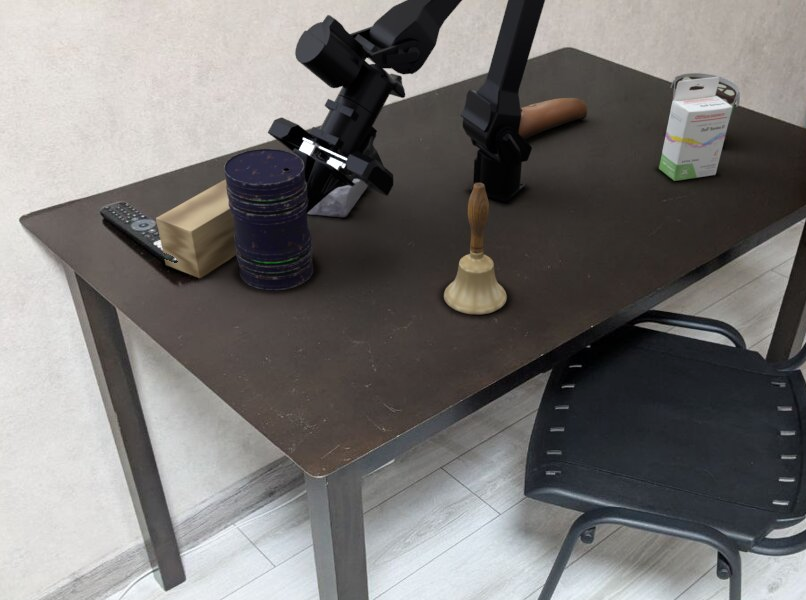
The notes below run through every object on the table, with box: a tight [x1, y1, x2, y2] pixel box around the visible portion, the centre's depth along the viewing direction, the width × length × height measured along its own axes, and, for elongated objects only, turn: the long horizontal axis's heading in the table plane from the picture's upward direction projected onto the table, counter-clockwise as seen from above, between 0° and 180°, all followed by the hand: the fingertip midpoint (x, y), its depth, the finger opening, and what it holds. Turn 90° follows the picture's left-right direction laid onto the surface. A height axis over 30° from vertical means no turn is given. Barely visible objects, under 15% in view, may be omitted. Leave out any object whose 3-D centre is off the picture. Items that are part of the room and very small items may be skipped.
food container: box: [669, 72, 741, 121], centre depth 159 cm, size 12×6×10 cm, turn 58°
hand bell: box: [443, 183, 508, 316], centre depth 115 cm, size 8×8×16 cm
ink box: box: [658, 76, 732, 182], centre depth 146 cm, size 9×5×15 cm, turn 114°
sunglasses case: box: [519, 97, 588, 141], centre depth 160 cm, size 18×7×7 cm
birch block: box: [155, 178, 237, 279], centre depth 123 cm, size 6×14×7 cm, turn 151°
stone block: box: [307, 179, 369, 218], centre depth 137 cm, size 12×5×10 cm
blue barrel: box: [223, 148, 314, 291], centre depth 117 cm, size 10×10×15 cm
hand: (300, 212), depth 121 cm, fingers closed, pressing on blue barrel
